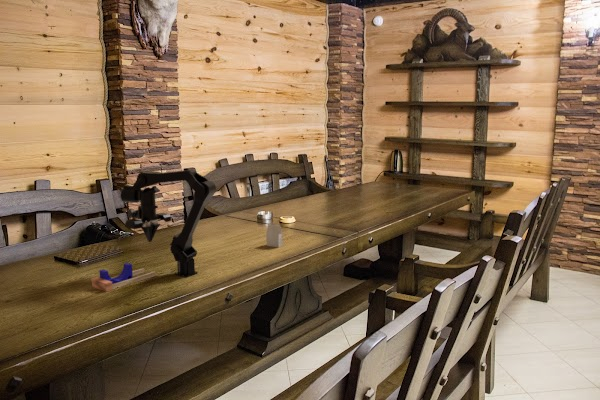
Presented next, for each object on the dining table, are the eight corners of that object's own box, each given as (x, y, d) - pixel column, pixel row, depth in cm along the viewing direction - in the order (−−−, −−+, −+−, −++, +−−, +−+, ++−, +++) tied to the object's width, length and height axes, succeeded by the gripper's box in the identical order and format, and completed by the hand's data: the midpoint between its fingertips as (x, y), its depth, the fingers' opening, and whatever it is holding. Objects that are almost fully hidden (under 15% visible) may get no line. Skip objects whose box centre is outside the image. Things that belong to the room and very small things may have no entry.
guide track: (156, 275, 214) (156, 268, 213) (106, 291, 196) (106, 283, 196) (142, 271, 219) (141, 264, 219) (92, 286, 201) (91, 278, 201)
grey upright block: (278, 247, 255) (278, 226, 253) (266, 245, 258) (266, 225, 257) (282, 245, 258) (282, 225, 257) (270, 243, 262) (270, 223, 260)
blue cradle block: (107, 288, 200) (106, 272, 199) (100, 286, 202) (99, 270, 201) (135, 280, 209) (134, 264, 208) (127, 277, 212) (127, 262, 211)
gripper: (152, 197, 227) (154, 234, 230) (115, 204, 212) (117, 243, 215) (171, 200, 221) (172, 238, 224) (133, 207, 206) (135, 248, 209)
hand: (149, 241), depth 218 cm, fingers closed
